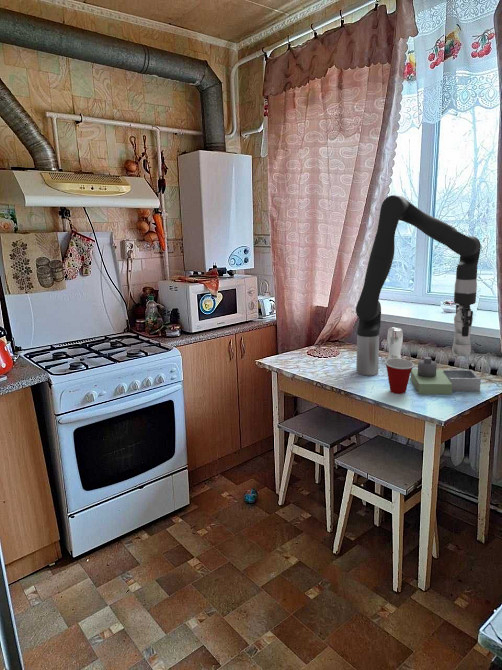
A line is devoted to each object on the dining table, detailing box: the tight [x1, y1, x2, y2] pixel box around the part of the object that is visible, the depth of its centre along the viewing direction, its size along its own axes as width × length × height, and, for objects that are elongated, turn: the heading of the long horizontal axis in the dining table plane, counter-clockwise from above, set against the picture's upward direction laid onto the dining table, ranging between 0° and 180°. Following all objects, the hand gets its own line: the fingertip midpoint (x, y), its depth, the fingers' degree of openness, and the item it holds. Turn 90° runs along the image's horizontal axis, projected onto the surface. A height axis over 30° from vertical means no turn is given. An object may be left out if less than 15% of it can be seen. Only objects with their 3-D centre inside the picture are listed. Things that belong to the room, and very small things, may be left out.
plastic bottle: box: [451, 304, 474, 357], centre depth 176 cm, size 6×7×20 cm
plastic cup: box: [384, 358, 415, 395], centre depth 178 cm, size 11×11×12 cm
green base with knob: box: [409, 356, 453, 395], centre depth 182 cm, size 12×18×11 cm, turn 171°
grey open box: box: [442, 369, 482, 392], centre depth 181 cm, size 11×11×5 cm
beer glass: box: [386, 327, 404, 359], centre depth 217 cm, size 7×7×15 cm
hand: (462, 333), depth 177 cm, fingers closed on plastic bottle, 6 cm apart
